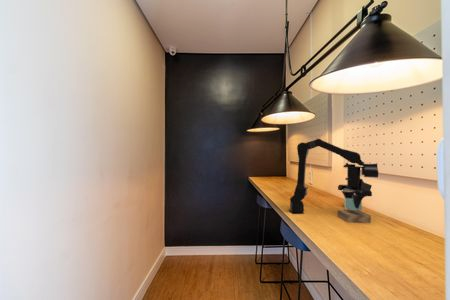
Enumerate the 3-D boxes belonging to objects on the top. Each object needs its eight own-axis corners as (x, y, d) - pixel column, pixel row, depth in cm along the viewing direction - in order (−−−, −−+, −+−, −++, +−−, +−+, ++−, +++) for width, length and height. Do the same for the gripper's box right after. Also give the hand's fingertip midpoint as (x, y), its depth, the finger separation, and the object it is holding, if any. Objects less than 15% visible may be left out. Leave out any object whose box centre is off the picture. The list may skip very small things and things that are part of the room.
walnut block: (348, 223, 109) (348, 215, 109) (338, 217, 119) (338, 209, 119) (370, 223, 109) (370, 215, 109) (358, 217, 119) (358, 210, 119)
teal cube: (352, 210, 112) (352, 200, 112) (345, 207, 117) (345, 198, 117) (361, 210, 112) (361, 200, 112) (355, 207, 117) (355, 198, 117)
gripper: (382, 178, 106) (382, 211, 106) (356, 174, 124) (356, 202, 124) (360, 178, 105) (360, 211, 105) (337, 174, 124) (337, 202, 123)
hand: (353, 206), depth 114 cm, fingers closed on teal cube, 5 cm apart
